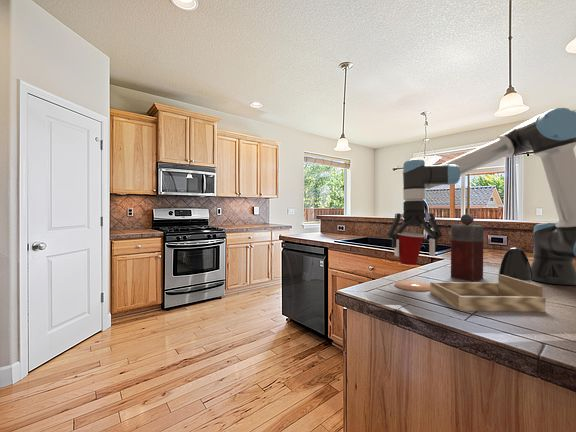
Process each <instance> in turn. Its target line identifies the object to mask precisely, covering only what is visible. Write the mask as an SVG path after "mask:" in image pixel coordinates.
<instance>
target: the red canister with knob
mask: <svg viewBox="0 0 576 432" xmlns="http://www.w3.org/2000/svg"><path fill="white" fill-rule="evenodd" d="M460 222H461V223H462V224H453V225H451V228H450V278H453V279H458V280H463V281H467V282H478V281H480V280H482V279H484V226H483V225H482V224H481V225H480V224H479V225H478V224H477V225H476V224H473V223H474V216H473V215H472V214H469V213H468V214H463V215H461V217H460Z"/></svg>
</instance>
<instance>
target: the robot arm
mask: <svg viewBox="0 0 576 432" xmlns="http://www.w3.org/2000/svg"><path fill="white" fill-rule="evenodd" d="M575 147H576V111H575V110H573V109H570V108H567V107H557V108H553V109H549V110H547V111H544V112H542V113H540V114H538V115H536V116H534V117H532V118H530V119H528V120H525V121H523V122H522V123H520V124H518V125H517V126H515V127H514V128H512V129H511V130H508V131H507V132H505V133H503V134H501V135H498V136H497V137H496V139H495V140H494V141H491V142H489V143H486V144H484V145H481V146H480V147H477V148H475V149H473V150H471V151H468V152H466V153H464V154H461V155H459V156H457V157H455V158H452V159H450V160H447V161H446V162H443V163H441V164H426V163H425V162H426V161H425V159H424V160H423V159H419V158H417V159H415V158H414V159H409V160H406V161H405V162H404V163H403V166H402V167H403V168H402V169H403V170H402V171H403V172H402V176H403V177H402V179H403V181H402V183H403V190H402V191H403V192H402V194H403V200H404V201H403V213H395V214H394V220H393V222H392V224H391V226H390V228H389V229H388V232H387V234H386V237H387V238H390V239H391V247H392V248H394V257H398V258H399V239H397V238H398V234H397V233H400V234H401V233H402V232H404V230H405V229H406V228H407V227H408V226H410V225H411V226H414V225H415V226H419V225H420V226H421V227H422V228H423V230H424V231H425V232H426V233H427V234H428V236H429V237H430V238H429V240H428V241H429V245H428V246H429V247H428V248H429V249H428V250H429V256H430V257H436V248H437V247H438V240H439V238H442V237H443V234H442V232H441V230H440V228H439V226H438V224H437V221H436V219H435V216H434V214H435V213H434V212H428V213H426V201H425V200H426V199H425V198H426V193H425V192H426V191H425V190H426V189H428V190H429V189H432V188H435V187H439V186H442V185H443V186H444V185H448V186H450V185H456V184H458V183H459V181H460V179H461V176H462V175H465V174H466V173H469V172H472V171H473V170H474V171H475V170H476V169H480V168H481V167H484V166H486V165H489V164H491V163H493V162H495V161H498V160H500V159H502V158H507V159H508V158H511V157H513V156H516V155H519V154H523V153H526V152H530V151H533V155H534V156H537V157H539V158H541V159H540V160H541V162H542V166H543V169H544V172H545V176H546V179H547V182H548V186H549V189H550V193H551V196H552V199H553V203H554V205H555V210H556V213H557V215H558V216H557V217H558V222H542V223H537V224H535V225H534V226H533V231H532V236H533V241H532V242H533V243H532V244H533V246H532V247H533V259H532V262H531V264H530V267H531V271H532V280H531V281H536V282H541V283H546V284H547V283H548V284H554V285H563V286H564V285H565V286H568V285H569V286H575V285H576V267H575V264H574V259H575V260H576V154H575V150H574V149H575ZM402 218H403V221H402V223H401V225H399V223H400V220H401V219H402ZM425 219H427V221H428V222H429V224H430V226H429V225H428V223H427V222H426V220H425ZM398 225H399V227H398ZM397 227H398V228H397Z"/></svg>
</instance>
